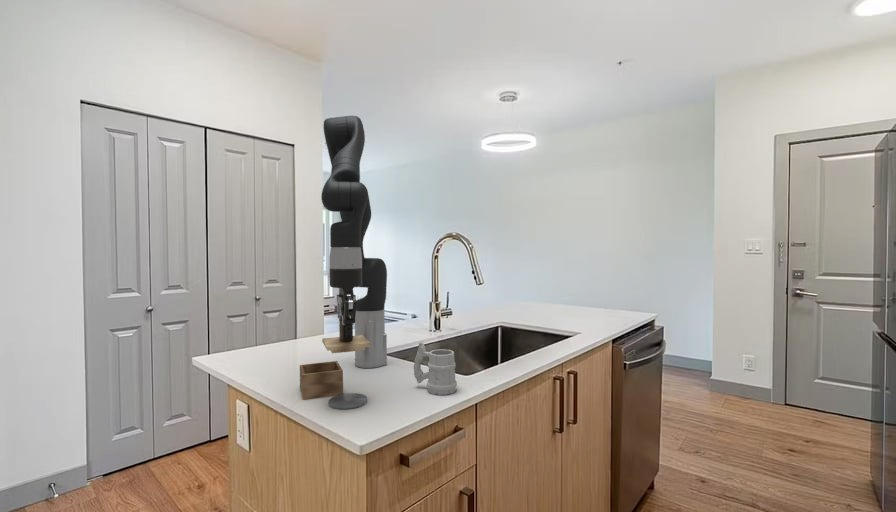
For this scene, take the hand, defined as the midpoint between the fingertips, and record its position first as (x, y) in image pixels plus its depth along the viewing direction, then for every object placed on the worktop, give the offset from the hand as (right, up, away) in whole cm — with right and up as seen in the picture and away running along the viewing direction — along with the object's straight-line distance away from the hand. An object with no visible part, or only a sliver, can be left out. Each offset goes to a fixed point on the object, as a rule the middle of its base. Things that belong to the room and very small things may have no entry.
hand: (346, 339), depth 101 cm
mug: (+21, -15, +9) cm, 27 cm away
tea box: (-9, -15, +9) cm, 19 cm away
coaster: (0, -15, 0) cm, 15 cm away
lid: (0, -1, 0) cm, 1 cm away
